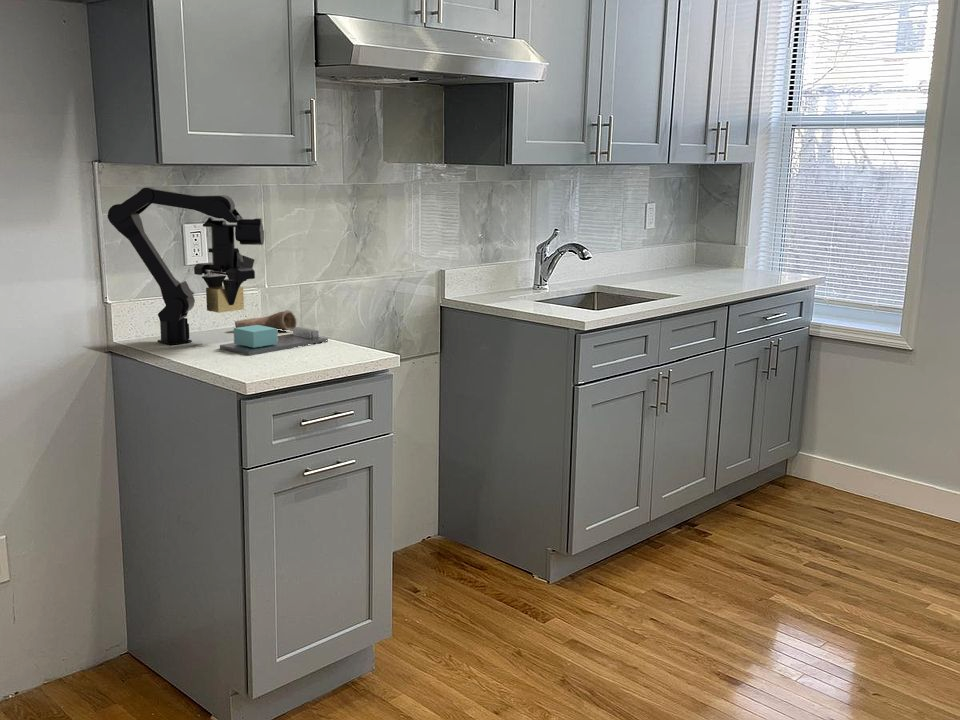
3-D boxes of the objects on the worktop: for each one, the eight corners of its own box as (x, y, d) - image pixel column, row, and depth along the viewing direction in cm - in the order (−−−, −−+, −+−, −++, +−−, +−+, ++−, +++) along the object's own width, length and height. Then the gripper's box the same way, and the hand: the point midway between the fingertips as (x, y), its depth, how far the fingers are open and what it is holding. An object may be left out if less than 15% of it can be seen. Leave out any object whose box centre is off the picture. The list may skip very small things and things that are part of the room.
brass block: (218, 312, 244) (217, 289, 242) (206, 310, 247) (206, 287, 246) (243, 309, 250) (243, 286, 249) (232, 307, 253) (231, 285, 252)
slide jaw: (253, 347, 238) (253, 332, 237) (234, 343, 243) (233, 328, 242) (278, 343, 244) (278, 328, 243) (259, 339, 249) (258, 324, 248)
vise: (249, 355, 235) (248, 343, 234) (219, 348, 242) (219, 337, 242) (327, 341, 255) (327, 330, 254) (298, 336, 262) (298, 325, 261)
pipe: (230, 314, 268) (242, 313, 259) (285, 310, 277) (298, 309, 268) (232, 337, 268) (244, 337, 260) (287, 332, 277) (300, 331, 269)
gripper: (270, 245, 245) (272, 304, 248) (227, 240, 257) (229, 297, 260) (235, 247, 237) (237, 309, 240) (191, 242, 248) (194, 301, 251)
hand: (225, 304), depth 248 cm, fingers closed on brass block, 5 cm apart
